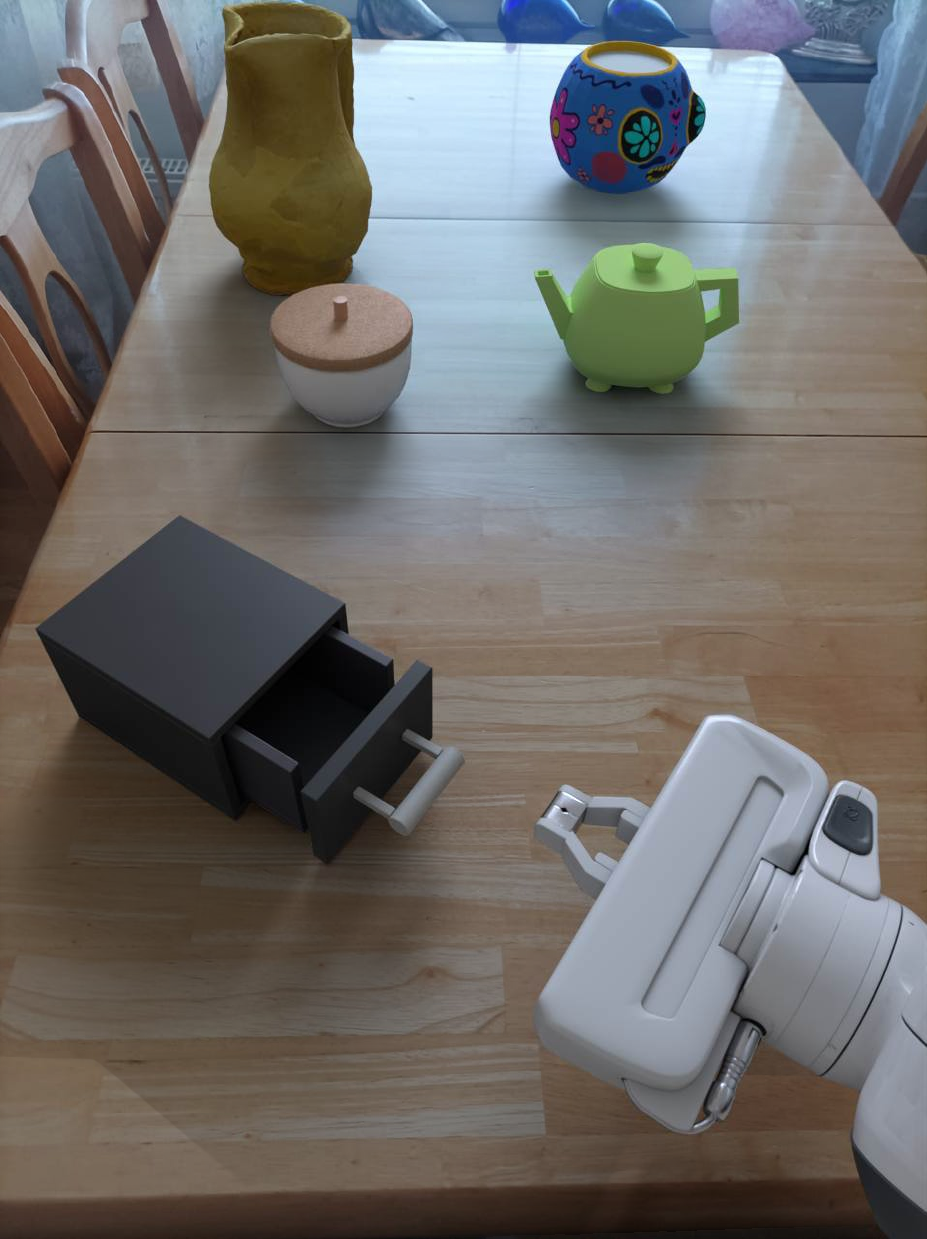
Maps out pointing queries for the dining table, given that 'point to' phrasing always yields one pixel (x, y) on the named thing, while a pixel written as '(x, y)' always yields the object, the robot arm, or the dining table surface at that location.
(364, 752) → the drawer
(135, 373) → the dining table surface
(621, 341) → the teapot
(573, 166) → the ceramic pot
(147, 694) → the cabinet
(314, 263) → the pitcher
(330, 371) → the lidded bowl
